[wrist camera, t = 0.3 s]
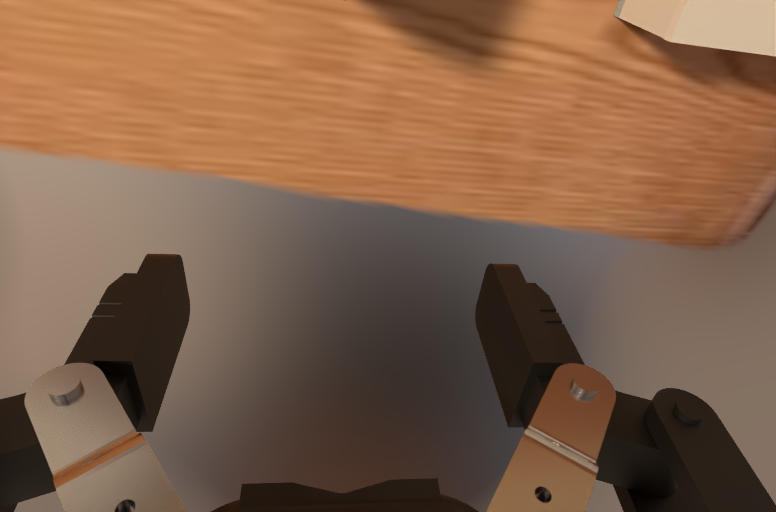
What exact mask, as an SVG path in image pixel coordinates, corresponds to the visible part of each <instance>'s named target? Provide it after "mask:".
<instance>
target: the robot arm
mask: <svg viewBox="0 0 776 512" xmlns="http://www.w3.org/2000/svg"><path fill="white" fill-rule="evenodd" d="M99 303H100V304H99V305H98V306H97V307H96V309H95V311H94V313H93V314H92V318H90V320H89V322H88V323H87V325H86V327H85V329H84V330H83V332H82V334H81V336H80V338H79V339H78V341H77V343H76V345H75V347H74V348H73V350H72V352H71V354H70V356H69V357H68V359H67V361H66V363H65V364H64V365H62V366H59V367H56V368H55V369H52V370H50V371H48V372H46V373H45V374H43V375H42V376H40V377H39V378H38V379H37V380H36V381H35V382H34V383H33V384H32V385H31V386H30V387H29V389H28V391H27V392H26V393H24V394H20V395H17V396H13V397H9V398H4V399H0V512H14V510H15V508H16V506H17V503H18V502H22V501H24V500H28V499H31V498H34V497H38V496H40V495H44V494H47V493H51V492H54V491H57V493H58V496H59V498H60V501H61V503H62V506H63V508H64V510H65V512H187V510H186V509H185V507H184V505H183V503H182V502H181V500H180V498H179V497H178V495H177V493H176V491H175V490H174V488H173V486H172V484H171V483H170V481H169V479H168V477H167V476H166V474H165V473H164V471H163V469H162V467H161V465H160V463H159V462H158V460H157V458H156V457H155V455H154V453H153V451H152V450H151V448H150V446H149V445H148V443H147V441H146V439H145V438H144V436H143V435H142V434H141V433H140V434H138V433H137V432H152V431H153V428H154V425H155V422H156V419H157V416H158V413H159V410H160V407H161V404H162V401H163V398H164V395H165V392H166V389H167V386H168V383H169V379H170V377H171V374H172V371H173V368H174V364H175V362H176V359H177V356H178V352H179V350H180V347H181V344H182V341H183V338H184V335H185V332H186V329H187V325H188V322H189V315H190V300H189V294H188V288H187V283H186V277H185V272H184V266H183V261H182V258H181V256H180V255H176V254H147V255H146V257H145V259H144V260H143V262H142V264H141V266H140V268H139V270H138V272H137V274H135V273H134V274H133V273H124V274H123V275H122V276H121V277H119V278H118V279H117V280H116V281H115V282H113V283H112V284H111V285H110V286H109V287H108V288H107V290H106V291H105V293H104V295H103V296H102V298H101V300H100V302H99ZM475 321H476V327H477V331H478V333H479V337H480V340H481V343H482V346H483V349H484V353H485V356H486V359H487V362H488V365H489V368H490V371H491V375H492V377H493V381H494V384H495V387H496V390H497V393H498V397H499V400H500V403H501V406H502V409H503V412H504V415H505V419H506V422H507V425H508V427H524V429H525V433H524V435H523V437H522V439H521V441H520V443H519V445H518V447H517V449H516V451H515V453H514V455H513V457H512V460H511V462H510V464H509V466H508V468H507V470H506V472H505V474H504V476H503V478H502V480H501V483H500V484H499V486H498V489H497V491H496V493H495V495H494V497H493V499H492V501H491V503H490V505H489V507H488V509H487V511H486V512H586V508H587V505H588V502H589V499H590V496H591V492H592V489H593V485H594V483H595V480H600V481H603V482H607V483H610V484H613V486H614V489H615V491H616V494H617V496H618V499H619V501H620V504H621V506H622V509H623V511H624V512H776V505H775V503H774V502H773V500H772V499H771V497H770V496H769V494H768V493H767V491H766V489H765V488H764V486H763V485H762V483H761V482H760V480H759V479H758V477H757V476H756V474H755V473H754V471H753V470H752V468H751V466H750V465H749V463H748V462H747V460H746V459H745V457H744V456H743V454H742V453H741V451H740V450H739V448H738V447H737V445H736V443H735V442H734V440H733V439H732V437H731V436H730V434H729V433H728V431H727V430H726V428H725V427H724V425H723V423H722V422H721V420H720V419H719V417H718V416H717V414H716V413H715V412H714V410H713V409H712V408H711V407H710V406H709V405H708V404H707V403H706V402H704V401H703V400H702V399H700V398H698V397H697V396H695V395H693V394H691V393H689V392H687V391H683V390H680V389H675V388H666V389H662V390H660V391H658V392H657V393H656V395H655V396H654V398H653V399H652V401H651V400H647V399H644V398H640V397H636V396H632V395H628V394H624V393H621V392H618V391H615V390H614V388H613V386H612V384H611V383H610V381H609V380H608V379H607V378H606V377H605V376H604V375H603V374H601V373H600V372H598V371H597V370H595V369H593V368H591V367H589V366H586V365H585V364H584V363H583V361H582V359H581V357H580V355H579V353H578V351H577V349H576V347H575V345H574V343H573V341H572V340H571V337H570V335H569V334H568V332H567V330H566V328H565V326H564V324H562V320H561V318H560V316H559V314H558V313H556V308H555V307H554V305H553V303H552V301H551V299H550V297H549V295H548V294H546V293H545V292H544V291H543V290H542V289H541V288H540V287H539V286H538V285H537V284H536V283H526V281H525V278H524V276H523V274H522V272H521V270H520V268H519V266H518V265H516V264H489V265H488V266H487V268H486V271H485V275H484V278H483V282H482V286H481V289H480V293H479V298H478V301H477V305H476V311H475ZM211 512H478V511H477V510H476V509H474V508H473V507H471V506H469V505H468V504H466V503H464V502H462V501H460V500H458V499H455V498H453V497H450V496H447V495H444V494H440V491H439V484H438V479H437V478H436V479H401V480H389V481H385V482H382V483H378V484H375V485H372V486H368V487H365V488H361V489H358V490H354V491H351V492H348V493H335V492H331V491H327V490H322V489H318V488H314V487H309V486H305V485H300V484H296V483H261V484H242V488H241V495H240V500H237V501H234V502H231V503H228V504H226V505H224V506H221V507H219V508H217V509H215V510H213V511H211Z"/></svg>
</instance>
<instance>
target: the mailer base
mask: <svg viewBox="0 0 776 512" xmlns="http://www.w3.org/2000/svg"><path fill="white" fill-rule="evenodd" d="M678 2H679V0H619V3H618V6H617V9H616V11H615V14H614V16H616V17H618V18H620V19H622V20H625V21H627V22H629V23H631V24H633V25H636V26H638V27H640V28H642V29H644V30H647V31H649V32H651V33H653V34H655V35H658V36H660V37H662V38H664V35H665V33H666V31H667V28H668V26H669V24H670V21H671V19H672V16H673V14H674V12H675V9H676V7H677V5H678Z"/></svg>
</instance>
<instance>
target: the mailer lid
mask: <svg viewBox="0 0 776 512" xmlns="http://www.w3.org/2000/svg"><path fill="white" fill-rule="evenodd" d="M663 39H664V40H667V41H669V42H674V43H681V44H688V45H696V46H703V47H710V48H718V49H725V50H732V51H740V52H747V53H754V54H762V55H769V56H776V0H679V2H678V5H677V7H676V9H675V12H674V14H673V16H672V19H671V21H670V24H669V26H668V28H667V31H666V33H665V35H664V38H663Z"/></svg>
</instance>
